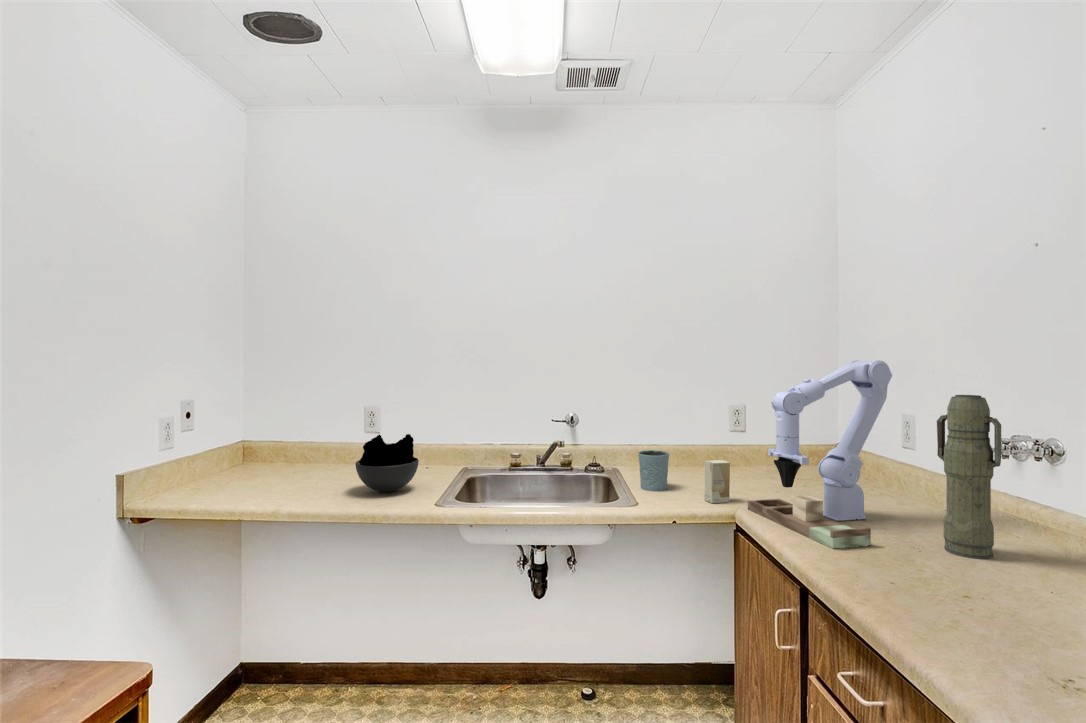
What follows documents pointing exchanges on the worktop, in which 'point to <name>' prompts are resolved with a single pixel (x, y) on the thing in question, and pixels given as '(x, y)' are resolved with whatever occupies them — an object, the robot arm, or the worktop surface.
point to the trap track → (811, 525)
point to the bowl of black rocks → (387, 464)
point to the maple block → (808, 508)
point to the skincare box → (717, 481)
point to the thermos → (968, 475)
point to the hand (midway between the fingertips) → (787, 486)
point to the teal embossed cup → (653, 470)
